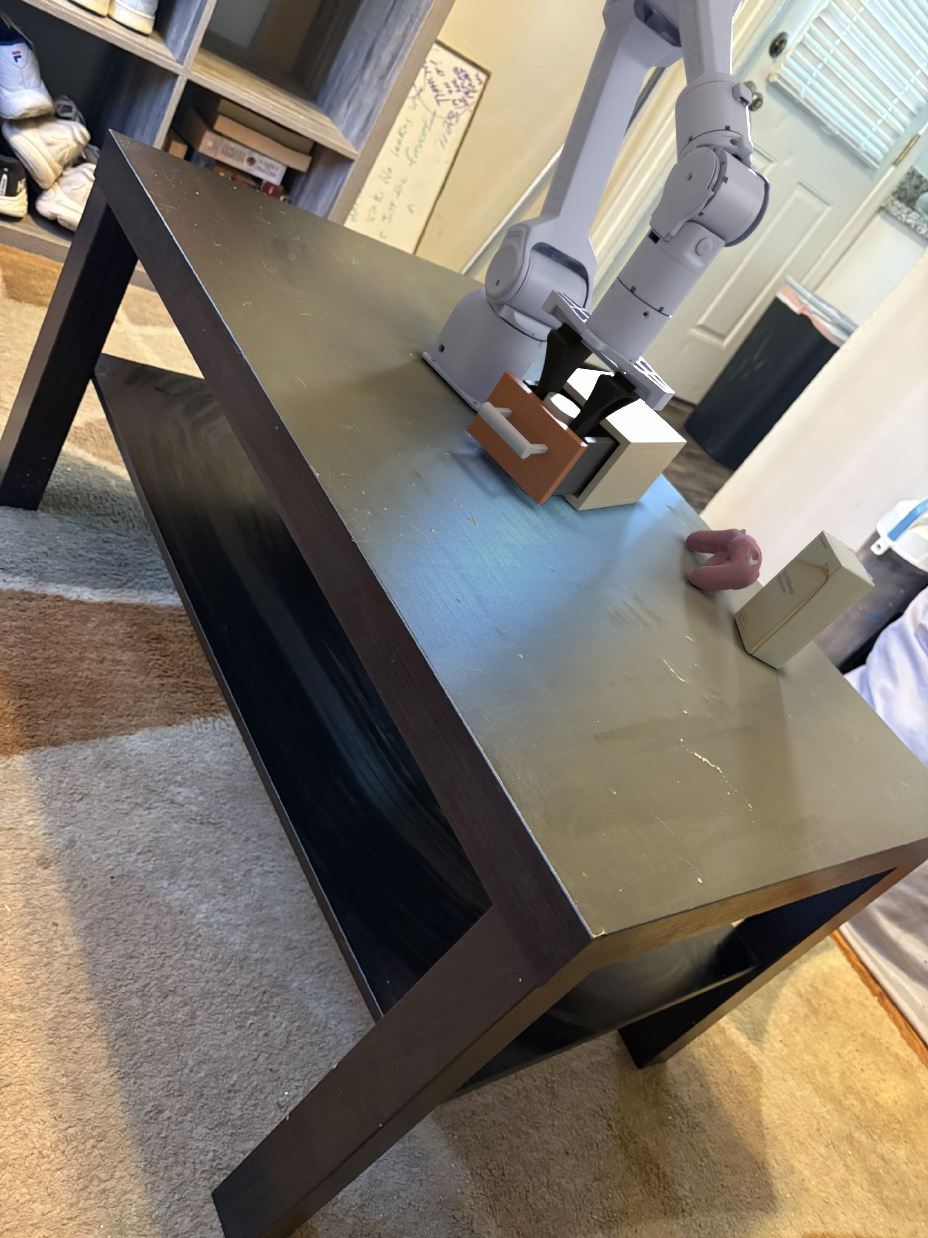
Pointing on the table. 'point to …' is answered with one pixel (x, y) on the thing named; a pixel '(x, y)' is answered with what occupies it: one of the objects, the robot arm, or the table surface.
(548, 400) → the cylinder
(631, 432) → the mini drawer cabinet
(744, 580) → the pink curved piece
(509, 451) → the pod drawer
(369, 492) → the table surface
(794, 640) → the cosmetic box
